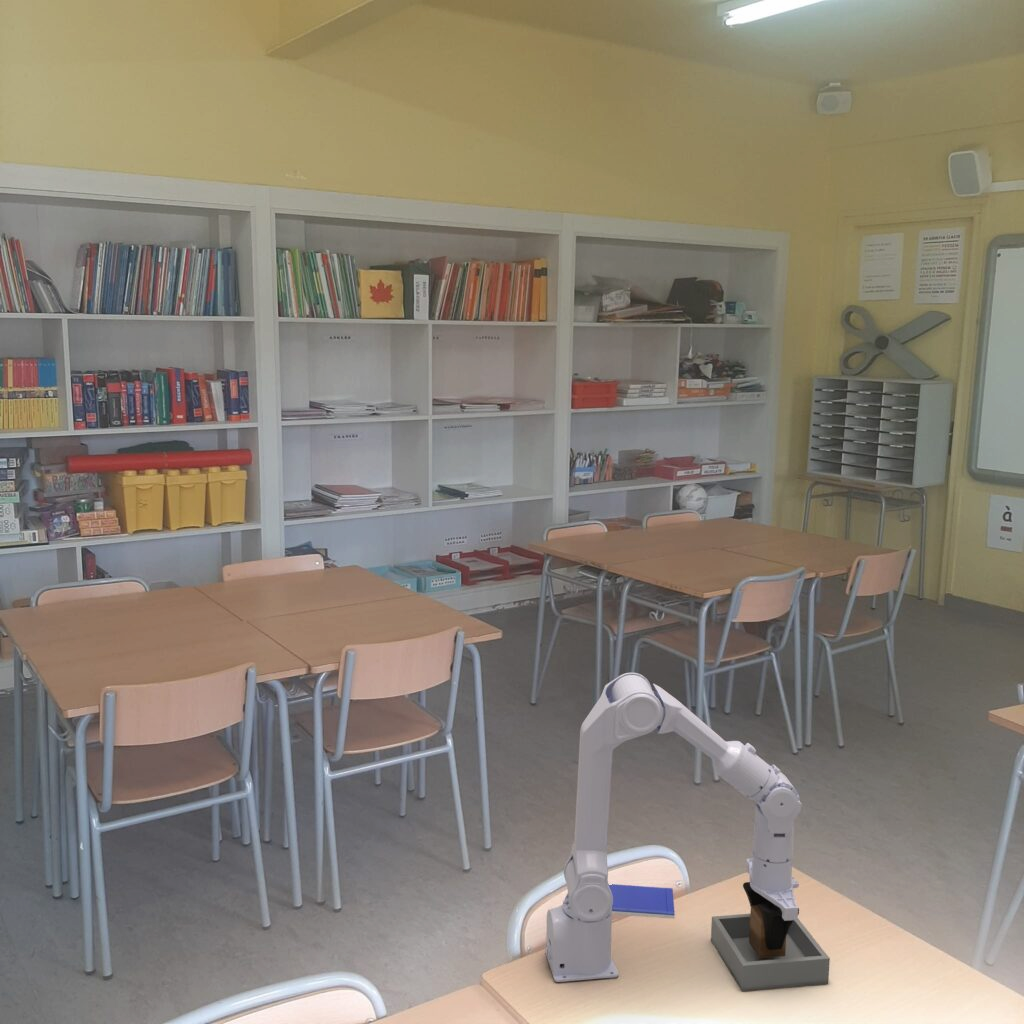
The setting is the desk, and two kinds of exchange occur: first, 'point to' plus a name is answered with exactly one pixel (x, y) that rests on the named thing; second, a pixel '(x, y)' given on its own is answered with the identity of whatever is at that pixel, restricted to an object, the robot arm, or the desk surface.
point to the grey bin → (753, 973)
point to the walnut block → (761, 936)
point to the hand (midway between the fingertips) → (768, 939)
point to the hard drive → (642, 901)
